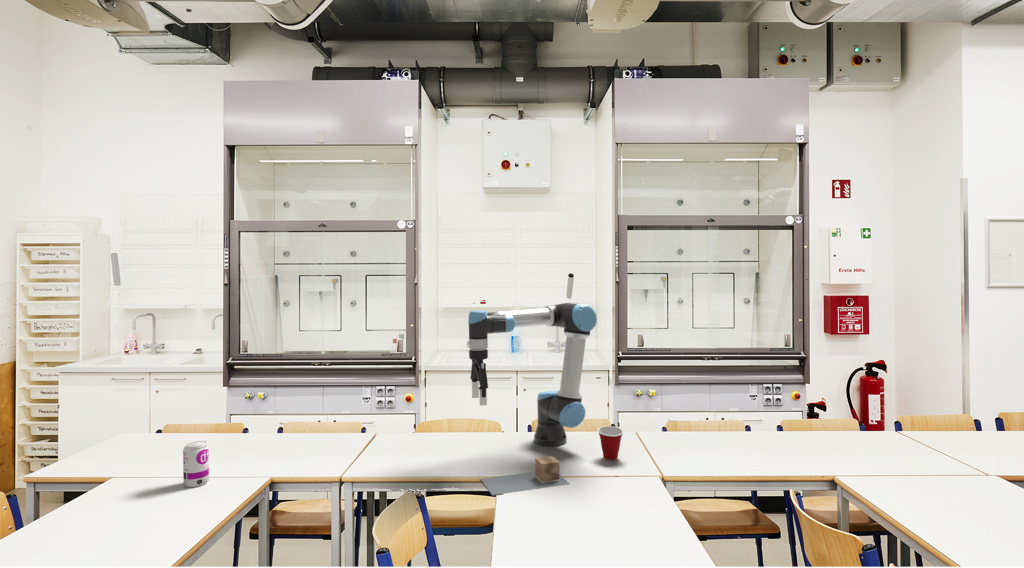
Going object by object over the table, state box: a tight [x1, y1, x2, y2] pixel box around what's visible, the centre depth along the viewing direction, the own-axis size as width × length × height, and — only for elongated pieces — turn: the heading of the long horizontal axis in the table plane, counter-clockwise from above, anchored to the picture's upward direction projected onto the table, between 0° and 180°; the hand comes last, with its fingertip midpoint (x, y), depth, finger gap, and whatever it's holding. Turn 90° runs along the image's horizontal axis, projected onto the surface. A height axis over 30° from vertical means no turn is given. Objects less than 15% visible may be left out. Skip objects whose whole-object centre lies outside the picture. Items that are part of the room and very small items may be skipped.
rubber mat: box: [479, 471, 571, 496], centre depth 204 cm, size 30×16×1 cm, turn 108°
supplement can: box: [182, 440, 210, 488], centre depth 204 cm, size 8×8×15 cm
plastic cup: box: [597, 425, 624, 461], centre depth 230 cm, size 11×11×12 cm
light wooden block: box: [534, 455, 560, 483], centre depth 206 cm, size 7×7×7 cm
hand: (479, 401), depth 221 cm, fingers open, 13 cm apart
